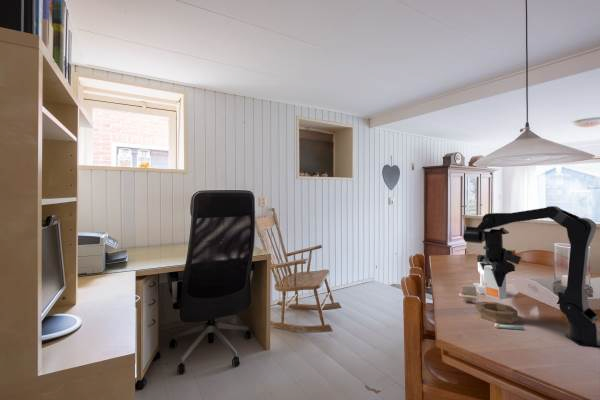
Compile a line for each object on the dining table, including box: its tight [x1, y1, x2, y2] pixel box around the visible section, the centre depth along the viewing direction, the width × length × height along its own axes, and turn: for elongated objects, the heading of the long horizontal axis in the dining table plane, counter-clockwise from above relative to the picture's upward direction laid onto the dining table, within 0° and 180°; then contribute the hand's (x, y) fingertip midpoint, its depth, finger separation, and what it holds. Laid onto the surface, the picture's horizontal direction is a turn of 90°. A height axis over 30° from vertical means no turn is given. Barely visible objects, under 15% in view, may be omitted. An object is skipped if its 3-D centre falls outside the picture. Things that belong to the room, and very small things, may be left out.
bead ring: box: [475, 301, 519, 324], centre depth 111 cm, size 12×12×4 cm
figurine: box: [473, 261, 485, 295], centre depth 139 cm, size 7×9×15 cm
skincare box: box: [484, 265, 507, 301], centre depth 111 cm, size 6×4×12 cm
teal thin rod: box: [494, 323, 525, 330], centre depth 100 cm, size 9×1×1 cm, turn 77°
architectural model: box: [458, 284, 479, 304], centre depth 127 cm, size 3×7×7 cm, turn 67°
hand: (495, 284), depth 111 cm, fingers closed on skincare box, 7 cm apart
